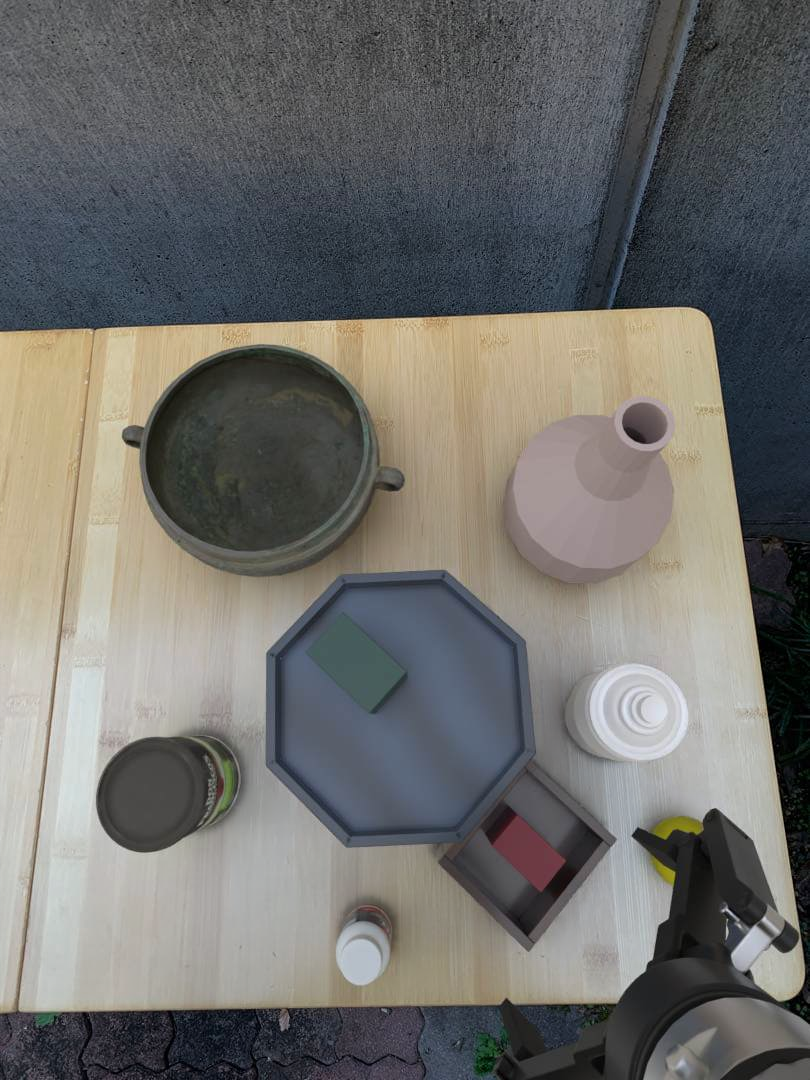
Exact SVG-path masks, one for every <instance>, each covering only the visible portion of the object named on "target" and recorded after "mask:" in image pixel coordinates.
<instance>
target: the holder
mask: <svg viewBox="0 0 810 1080" xmlns="http://www.w3.org/2000/svg"><path fill="white" fill-rule="evenodd" d="M508 806H509V807H510V808H511V809H512V810H514V811H515V812H516V813H517V814H518V815H519V816H520V817H521V818H522V819H523V820H524V821H525V822H526V823H527V824H528V825H529V826H531V827H532V828H533V829H534V830H535V831H536V832H537V833H538V834H539V835H540V836H541V837H542V838H543V839H544V840H545V841H546V842H548V843H549V844H550V845H551V846H552V847H553V848H554V849H555V850H556V851H557V852H558V853H559V854H560V855H561V856H562V857H563V858H564V859H566V862H565V863H564V864H563V866H562V867H561V868H560V869H559V871H558V872H557V873H556V874H555V876H554V877H553V878H552V879H551V881H550V882H549V883H548V885H547V886H546V887H545V888H544V890H543V891H542V892H540V891H538V890H537V889H536V888H535V887H534V886H533V885H532V884H531V883H530V882H529V881H528V880H527V879H526V878H525V877H524V876H523V875H522V874H521V873H520V872H519V871H518V870H517V869H516V868H515V867H514V866H512V865H511V864H510V863H509V862H508V861H507V860H506V859H505V858H504V857H503V856H502V855H501V854H500V853H499V852H498V851H497V850H496V849H495V848H494V847H493V846H492V845H491V843H490V842H489V840H488V838H487V836H486V835H485V833H486V832H487V831H488V830H489V829H490V827H491V826H492V825H493V824H494V822H495V821H496V820H497V819H498V818H499V816H500V815H501V814H502V813H503V812H504V810H505V809H506V808H507V807H508ZM617 840H618V839H617V837H615V836H614V835H613V834H612V833H611V832H610V831H609V830H608V829H607V828H605V826H603V824H601V822H599V821H598V820H597V819H596V818H595V817H593V815H591V814H590V813H589V812H588V811H587V810H586V809H585V808H584V807H583V806H581V804H579V803H578V802H577V801H576V800H575V799H574V798H573V797H572V796H571V795H570V794H569V793H568V792H566V791H565V789H563V788H562V787H561V786H560V785H559V784H558V783H556V782H555V780H554V779H552V778H551V777H550V776H549V775H548V774H547V773H546V772H544V771H543V769H541V768H540V767H539V766H538V765H537V764H536V763H535V762H534V761H533V760H532V759H531V760H530V761H529V762H528V763H527V765H526V766H525V767H524V768H523V769H522V771H521V772H520V773H519V774H518V775H517V777H516V778H515V779H514V780H513V781H512V783H511V784H510V785H509V786H508V787H507V789H506V790H505V791H504V792H503V793H502V795H501V796H500V797H499V798H498V799H497V801H496V802H495V803H494V804H493V806H492V807H491V808H490V809H489V810H488V812H487V813H486V814H485V815H484V816H483V818H482V819H481V820H480V821H479V822H478V824H477V825H476V826H475V827H474V828H473V830H472V831H471V832H470V833H469V834H468V836H467V837H466V838H465V839H464V840H463V842H461V843H439V845H438V846H437V848H436V849H435V854H436V861H437V864H438V865H439V866H440V867H441V868H442V869H443V870H444V871H445V872H446V873H447V874H448V875H449V876H451V878H452V879H454V880H455V881H456V883H458V885H460V886H461V887H462V889H463V890H465V892H467V893H468V894H469V896H471V897H472V898H473V899H474V900H475V901H476V902H477V904H478V905H479V906H481V907H482V908H483V909H484V910H485V911H486V912H487V913H488V914H489V916H491V917H492V918H493V919H494V920H495V921H496V922H497V923H498V924H500V926H501V927H502V928H503V929H504V930H505V931H506V932H507V933H508V934H510V936H511V937H512V938H514V940H515V941H516V942H517V943H518V944H519V945H520V946H522V947H523V949H524V950H525V951H527V953H530V952H531V950H533V948H534V946H535V945H536V944H537V942H539V940H540V939H541V938H542V937H543V935H544V934H545V932H546V931H547V930H548V928H549V927H550V926H551V924H552V923H554V921H555V920H556V919H557V917H558V916H559V915H560V913H561V911H562V910H563V909H564V908H565V907H566V905H567V904H568V903H569V901H570V900H571V899H572V898H573V896H574V895H575V894H576V893H577V891H578V890H579V889H580V887H581V886H583V885H582V884H583V883H585V881H586V880H587V879H588V877H589V876H590V875H591V873H592V872H593V871H594V869H596V867H597V866H598V864H599V863H600V862H601V861H602V859H603V858H604V857H605V856H606V854H607V853H608V852H609V850H610V848H611V847H613V845H614V844H615V843H616V841H617Z"/></svg>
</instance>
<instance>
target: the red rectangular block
mask: <svg viewBox="0 0 810 1080" xmlns="http://www.w3.org/2000/svg"><path fill="white" fill-rule="evenodd" d="M485 835H486V836H487V838H488V840H489V842H490V843H491V845H492V846H493V847H494V848H495V849H496V850H497V851H498V852H499V853H500V854H501V855H502V856H503V857H504V858H505V859H506V860H507V861H508V862H509V863H510V864H511V865H512V866H514V867H515V868H516V869H517V870H518V871H519V872H520V873H521V874H522V875H523V876H524V877H525V878H526V879H527V880H528V881H529V882H530V883H531V884H532V885H533V886H534V887H535V888H536V889H537V890H538V891H540V892H542V891H543V890H544V888H545V887H546V886H547V885H548V883H549V882H550V881H551V879H552V878H553V877H554V876H555V874H556V873H557V872H558V871H559V869H560V868H561V867H562V866H563V864H564V863H565V862H566V859H564V858H563V857H562V856H561V855H560V854H559V853H558V852H557V851H556V850H555V849H554V848H553V847H552V846H551V845H550V844H549V843H548V842H546V841H545V840H544V839H543V838H542V837H541V836H540V835H539V834H538V833H537V832H536V831H535V830H534V829H533V828H532V827H531V826H529V825H528V824H527V823H526V822H525V821H524V820H523V819H522V818H521V817H520V816H519V815H518V814H517V813H516V812H515V811H514V810H512V809H511V808H510V807H509V806H508V807H507V808H506V809H505V810H504V812H503V813H502V814H501V815H500V816H499V818H498V819H497V820H496V821H495V822H494V824H493V825H492V826H491V827H490V829H489V830H488V831H487V832H486V833H485Z"/></svg>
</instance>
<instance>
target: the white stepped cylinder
mask: <svg viewBox="0 0 810 1080" xmlns="http://www.w3.org/2000/svg"><path fill="white" fill-rule="evenodd" d="M564 721H565V725H566V729H567V731H568V733H569V735H570V737H571V738H572V740H573V741H574V742H575V743H576V744H577V745H578V746H579V747H580V748H581V749H582V750H584V751H585V752H587V753H589V754H591V755H593V756H596V757H599V758H602V759H603V758H604V759H608V760H611V761H615V762H625V763H648V762H654V761H657V760H659V759H662V758H664V757H665V756H668V754H670V753H672V752H673V751H675V749H676V748H677V747H678V746H679V745H680V744H681V743H682V741H683V740H684V738H685V736H686V733H687V731H688V727H689V707H688V703H687V700H686V697H685V695H684V693H683V692H682V690H681V688H680V687H679V686H678V684H677V683H676V682H675V681H674V680H673V678H671V677H670V676H669V675H667V674H666V673H664V671H661V670H659V669H657V668H656V667H654V666H653V667H652V666H651V665H648V664H644V663H641V662H632V661H631V662H621V663H616V664H613V665H610V666H607V667H604V668H601V669H598V670H596V671H594V672H592V673H590V674H587V675H586V676H583V677H582V678H581V679H580V680H578V682H577V683H576V684H575V685H574V686H573V689H572V691H571V693H570V695H569V698H568V700H567V702H566V706H565V709H564Z"/></svg>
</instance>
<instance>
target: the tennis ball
mask: <svg viewBox="0 0 810 1080" xmlns="http://www.w3.org/2000/svg"><path fill="white" fill-rule="evenodd" d="M702 822H703V821H702ZM702 822H701V821H700V820H699V819H696V818H694V817H689V816H684V815H683V816H682V815H676V816H671V817H668V818H666V819H663V820H661V821H660V822H659V823H658V824H657V825H656V826H655V827H654V828H653V829H652V831H651V832H650V833H652V834H654V835H656V836H659V837H661V838H663V839H665V840H666V839H667V837H668V836H669V835H670V833H671V832H672V831H673V830H676V829H679V830H682V831H684V832H687V833H689V832H692V831H693V832H694V833H695V834H696V835H697V834H699V833H701V832H702V831H703V830H704V828H703V824H702ZM649 857H650V860H651V863H652V865H653V867H654V869H655V870H656V872H657V874H658V875H659V876H660V877H661V878H662V879H663V880H664V881H665V882H666V883H667V884H668V885H670V886H671V887H673V885H674V878H675V872H674V871H672V870H670V869H669V868H667V867H665V866H663V865H662V864H661V863H660V862H659V861H658V860H657V859H656V858H655V857H654V856H652V855H651V854H650V853H649Z"/></svg>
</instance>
